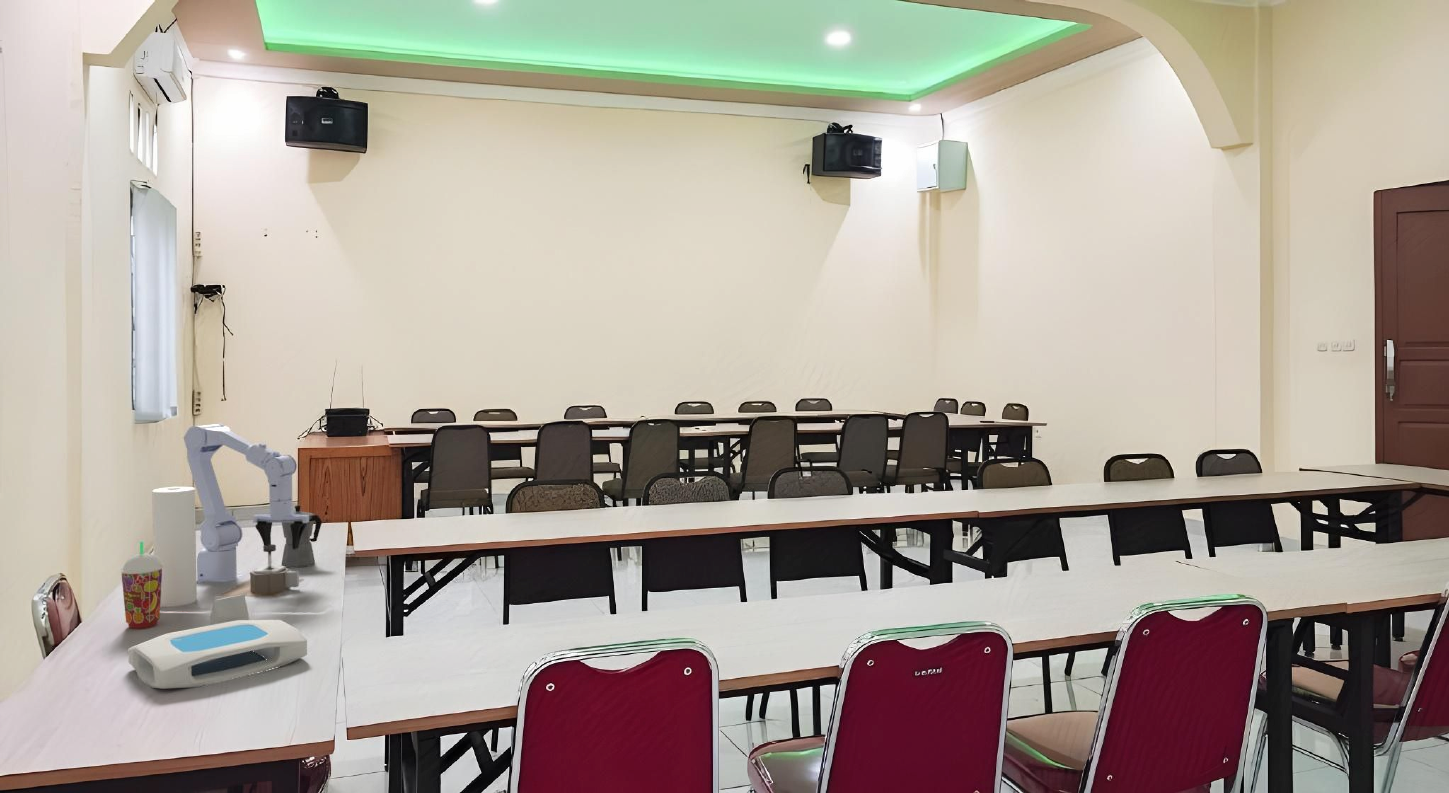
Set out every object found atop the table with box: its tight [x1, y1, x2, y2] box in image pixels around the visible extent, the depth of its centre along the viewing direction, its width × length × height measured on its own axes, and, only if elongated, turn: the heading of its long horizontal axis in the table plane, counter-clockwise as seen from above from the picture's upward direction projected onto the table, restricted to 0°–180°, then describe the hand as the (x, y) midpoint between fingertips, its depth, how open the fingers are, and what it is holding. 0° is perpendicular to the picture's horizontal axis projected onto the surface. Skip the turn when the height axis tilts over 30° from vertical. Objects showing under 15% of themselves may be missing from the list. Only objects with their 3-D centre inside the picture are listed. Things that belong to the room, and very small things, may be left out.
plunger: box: [256, 543, 283, 574], centre depth 257 cm, size 7×7×8 cm
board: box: [217, 578, 305, 597], centre depth 259 cm, size 15×18×1 cm
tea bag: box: [209, 594, 250, 625], centre depth 214 cm, size 4×7×10 cm, turn 143°
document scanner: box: [127, 619, 308, 690], centre depth 198 cm, size 21×28×6 cm
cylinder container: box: [151, 486, 198, 608], centre depth 243 cm, size 9×9×30 cm
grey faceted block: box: [249, 565, 300, 594], centre depth 257 cm, size 12×9×6 cm
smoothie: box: [120, 541, 163, 630], centre depth 225 cm, size 8×8×20 cm
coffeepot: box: [281, 504, 323, 568], centre depth 288 cm, size 15×9×18 cm, turn 70°
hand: (281, 548), depth 264 cm, fingers open, 7 cm apart
